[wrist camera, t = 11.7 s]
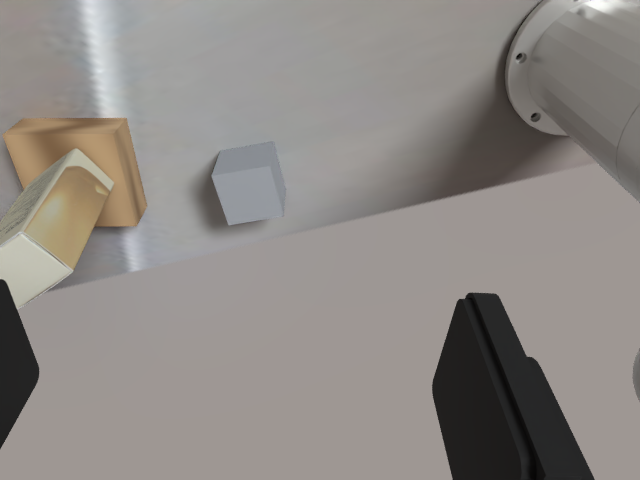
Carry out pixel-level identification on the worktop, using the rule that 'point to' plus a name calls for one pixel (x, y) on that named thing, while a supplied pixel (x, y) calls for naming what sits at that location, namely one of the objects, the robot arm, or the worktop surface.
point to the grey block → (250, 183)
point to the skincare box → (51, 225)
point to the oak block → (93, 141)
